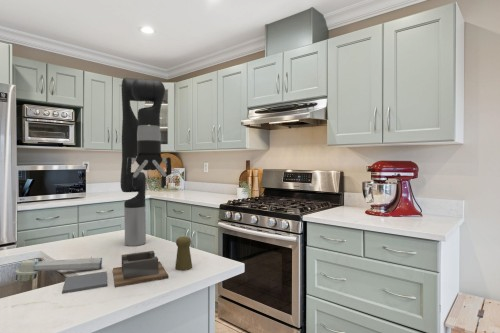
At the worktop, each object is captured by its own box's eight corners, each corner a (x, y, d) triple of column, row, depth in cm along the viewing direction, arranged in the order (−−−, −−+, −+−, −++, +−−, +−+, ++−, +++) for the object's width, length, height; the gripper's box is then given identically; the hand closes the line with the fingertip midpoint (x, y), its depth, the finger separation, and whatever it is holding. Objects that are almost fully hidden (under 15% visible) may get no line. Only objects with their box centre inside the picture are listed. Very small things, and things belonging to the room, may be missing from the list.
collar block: (112, 270, 109) (112, 253, 109) (159, 264, 116) (159, 247, 116) (115, 287, 95) (114, 267, 95) (168, 278, 102) (168, 260, 102)
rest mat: (66, 279, 101) (65, 277, 101) (106, 273, 107) (106, 271, 107) (62, 293, 91) (62, 290, 91) (107, 286, 96) (107, 283, 96)
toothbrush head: (102, 259, 110) (15, 260, 99) (99, 278, 110) (12, 281, 99) (101, 255, 115) (18, 256, 104) (99, 273, 115) (15, 276, 103)
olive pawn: (191, 270, 109) (191, 239, 109) (173, 270, 109) (173, 239, 109) (193, 264, 115) (192, 234, 115) (176, 265, 115) (176, 235, 115)
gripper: (168, 141, 111) (168, 186, 111) (125, 140, 105) (125, 188, 105) (172, 139, 104) (173, 188, 105) (127, 138, 98) (127, 190, 98)
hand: (149, 188), depth 105 cm, fingers open, 8 cm apart
